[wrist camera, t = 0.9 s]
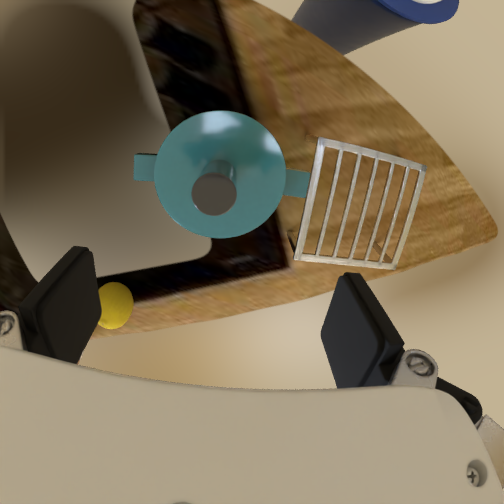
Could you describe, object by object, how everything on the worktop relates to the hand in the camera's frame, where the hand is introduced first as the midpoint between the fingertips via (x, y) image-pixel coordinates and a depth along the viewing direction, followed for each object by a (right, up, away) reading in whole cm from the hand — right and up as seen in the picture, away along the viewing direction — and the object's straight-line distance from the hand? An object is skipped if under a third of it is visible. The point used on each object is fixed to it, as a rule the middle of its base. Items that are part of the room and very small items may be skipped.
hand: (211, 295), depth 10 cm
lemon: (-17, -4, +28) cm, 33 cm away
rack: (+13, +9, +24) cm, 28 cm away
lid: (-1, +8, +14) cm, 16 cm away
